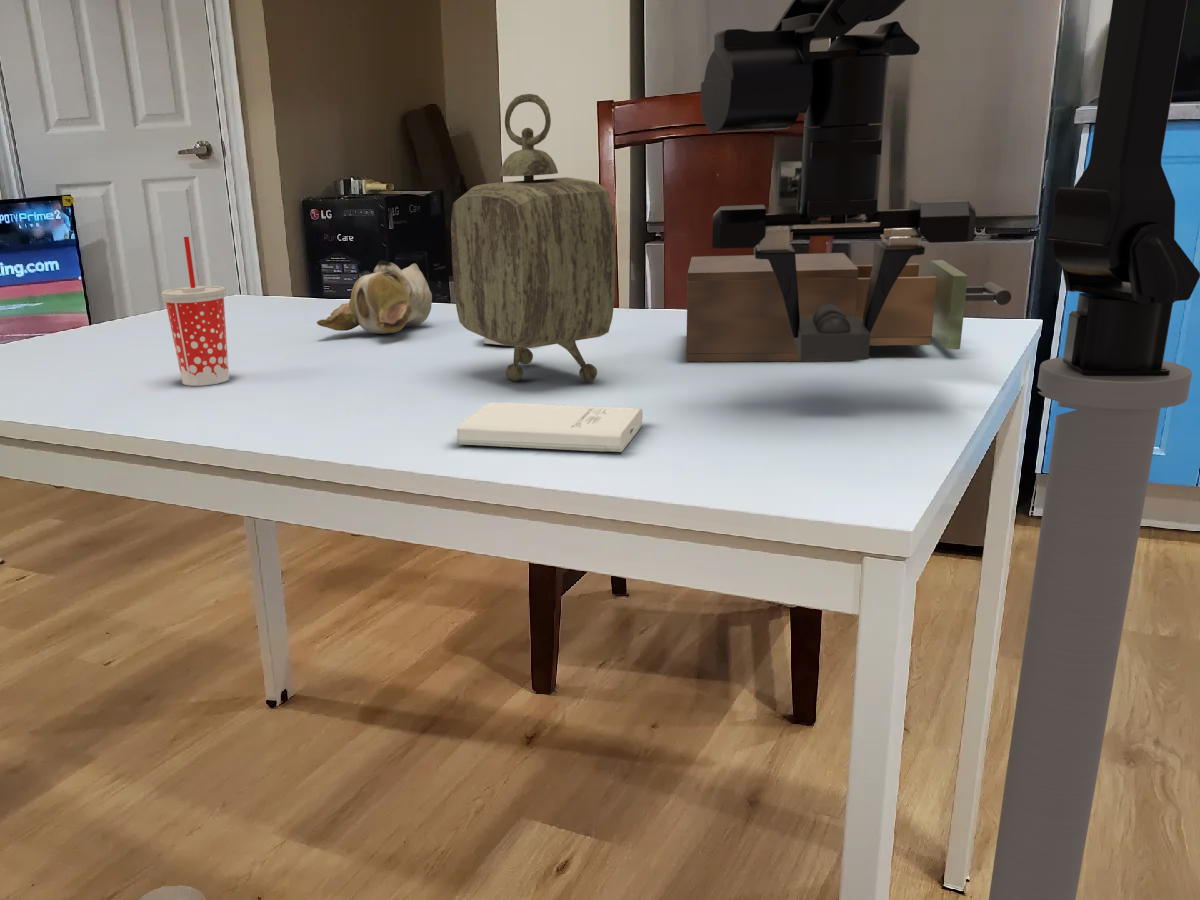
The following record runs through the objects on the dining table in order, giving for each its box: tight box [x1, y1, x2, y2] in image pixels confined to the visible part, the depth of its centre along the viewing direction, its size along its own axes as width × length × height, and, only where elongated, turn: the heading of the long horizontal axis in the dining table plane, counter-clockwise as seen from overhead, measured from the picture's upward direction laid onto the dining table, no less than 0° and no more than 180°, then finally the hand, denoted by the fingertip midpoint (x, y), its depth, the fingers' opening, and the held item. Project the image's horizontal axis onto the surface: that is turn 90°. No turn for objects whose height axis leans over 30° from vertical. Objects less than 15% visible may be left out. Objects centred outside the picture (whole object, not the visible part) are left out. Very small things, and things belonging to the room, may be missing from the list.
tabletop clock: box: [450, 93, 617, 382], centre depth 100 cm, size 14×9×25 cm, turn 31°
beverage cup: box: [160, 236, 230, 387], centre depth 107 cm, size 6×6×14 cm
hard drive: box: [456, 401, 643, 453], centre depth 83 cm, size 2×8×12 cm
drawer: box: [854, 259, 1012, 350], centre depth 108 cm, size 19×12×7 cm, turn 78°
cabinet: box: [685, 252, 859, 363], centre depth 111 cm, size 16×14×9 cm
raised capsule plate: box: [794, 304, 870, 361], centre depth 86 cm, size 8×5×3 cm, turn 168°
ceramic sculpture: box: [316, 260, 433, 335], centre depth 131 cm, size 11×9×15 cm
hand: (830, 336), depth 87 cm, fingers closed on raised capsule plate, 5 cm apart
